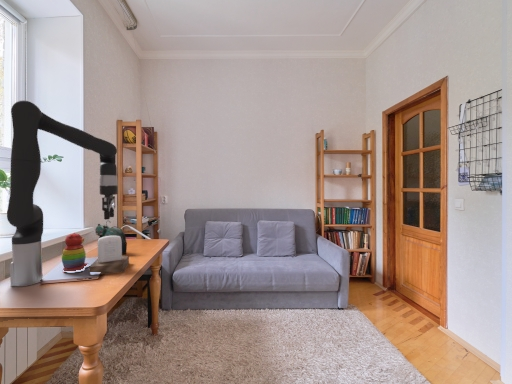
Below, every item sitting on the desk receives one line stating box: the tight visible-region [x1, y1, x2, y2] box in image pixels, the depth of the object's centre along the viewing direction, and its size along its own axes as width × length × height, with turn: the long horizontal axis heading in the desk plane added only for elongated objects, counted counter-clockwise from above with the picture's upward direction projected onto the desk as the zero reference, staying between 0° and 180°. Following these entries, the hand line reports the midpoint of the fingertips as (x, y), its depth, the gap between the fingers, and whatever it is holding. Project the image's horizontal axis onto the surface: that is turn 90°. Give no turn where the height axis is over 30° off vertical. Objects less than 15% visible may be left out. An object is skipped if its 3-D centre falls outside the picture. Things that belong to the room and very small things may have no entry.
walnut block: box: [88, 255, 130, 275], centre depth 123 cm, size 14×14×4 cm
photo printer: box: [97, 236, 123, 263], centre depth 122 cm, size 10×4×12 cm, turn 121°
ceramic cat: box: [95, 219, 128, 256], centre depth 151 cm, size 20×6×20 cm, turn 73°
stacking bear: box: [61, 232, 89, 271], centre depth 122 cm, size 11×10×18 cm
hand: (109, 218), depth 122 cm, fingers open, 8 cm apart
